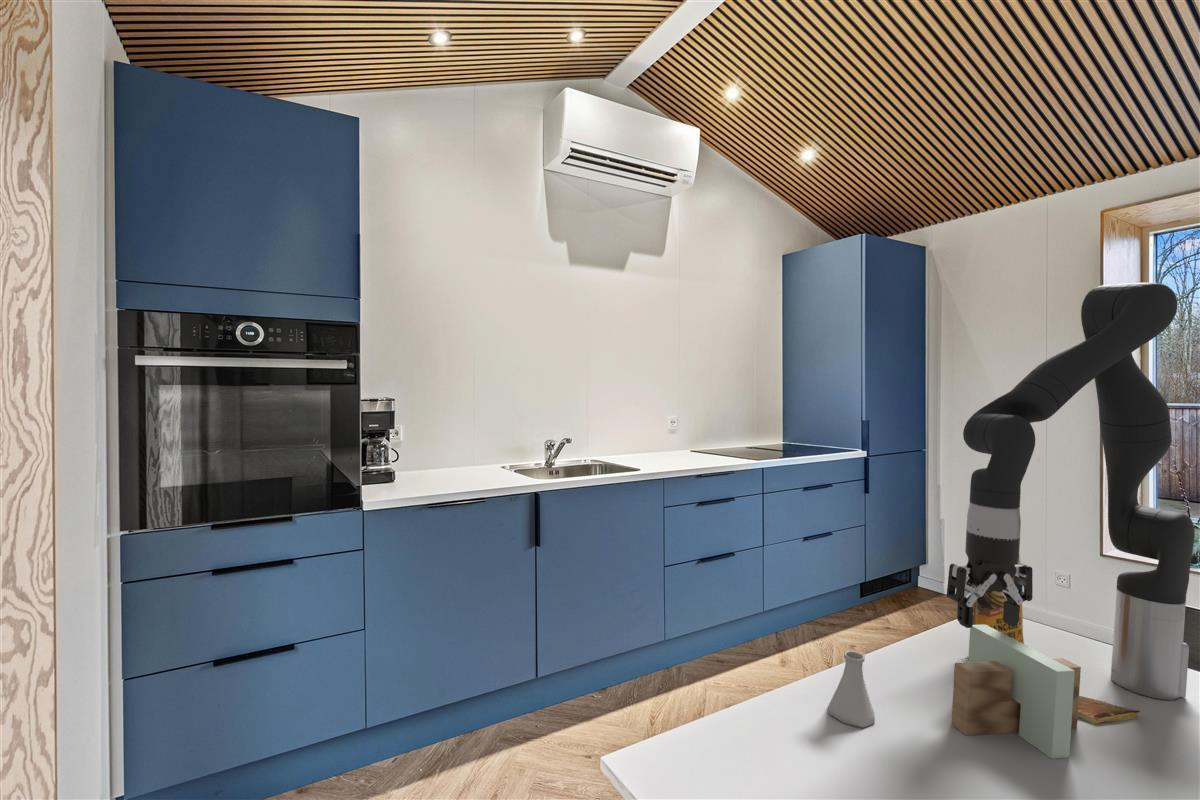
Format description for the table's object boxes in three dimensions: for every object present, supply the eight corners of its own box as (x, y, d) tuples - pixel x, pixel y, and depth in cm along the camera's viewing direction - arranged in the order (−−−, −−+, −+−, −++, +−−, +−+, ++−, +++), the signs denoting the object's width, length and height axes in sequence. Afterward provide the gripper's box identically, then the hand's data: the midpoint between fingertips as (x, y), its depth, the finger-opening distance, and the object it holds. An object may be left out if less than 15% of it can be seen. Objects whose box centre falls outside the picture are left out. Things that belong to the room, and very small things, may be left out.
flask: (882, 715, 94) (885, 655, 93) (866, 734, 88) (870, 670, 88) (837, 697, 99) (840, 640, 98) (820, 714, 93) (823, 654, 93)
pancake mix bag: (946, 655, 116) (954, 518, 115) (1003, 640, 124) (1011, 512, 123) (981, 671, 110) (989, 526, 109) (1038, 654, 118) (1046, 519, 117)
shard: (1140, 719, 96) (1140, 709, 96) (1151, 742, 90) (1152, 731, 90) (1057, 698, 102) (1058, 688, 102) (1062, 718, 96) (1063, 707, 96)
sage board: (1069, 757, 84) (1074, 670, 84) (1051, 758, 84) (1057, 671, 84) (981, 697, 100) (985, 624, 100) (966, 698, 100) (970, 624, 99)
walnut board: (1059, 717, 95) (1063, 658, 95) (1076, 728, 92) (1080, 667, 92) (951, 724, 92) (954, 662, 92) (965, 735, 89) (969, 672, 89)
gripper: (972, 538, 92) (967, 637, 93) (1049, 536, 94) (1044, 633, 95) (938, 526, 100) (934, 617, 100) (1011, 525, 102) (1006, 614, 102)
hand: (987, 625), depth 98 cm, fingers open, 8 cm apart
